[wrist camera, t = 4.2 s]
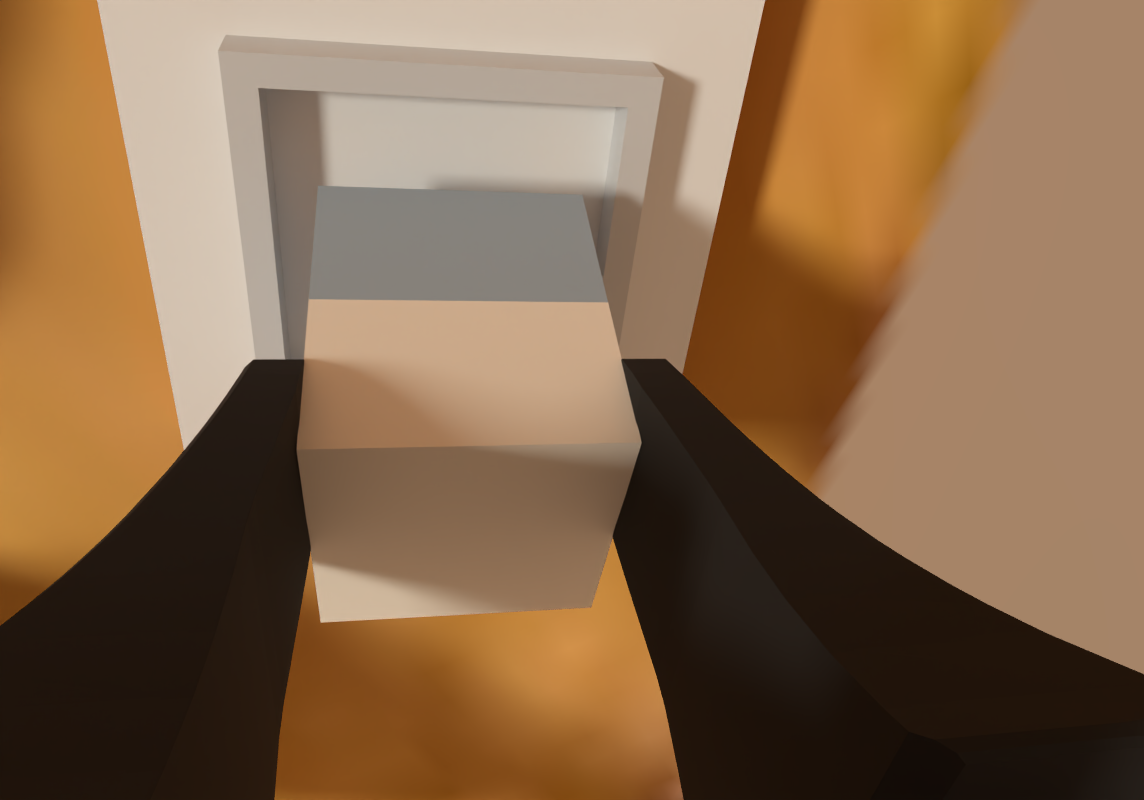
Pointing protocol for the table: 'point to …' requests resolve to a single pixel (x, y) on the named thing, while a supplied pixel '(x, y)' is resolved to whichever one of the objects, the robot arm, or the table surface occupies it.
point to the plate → (415, 146)
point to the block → (459, 405)
